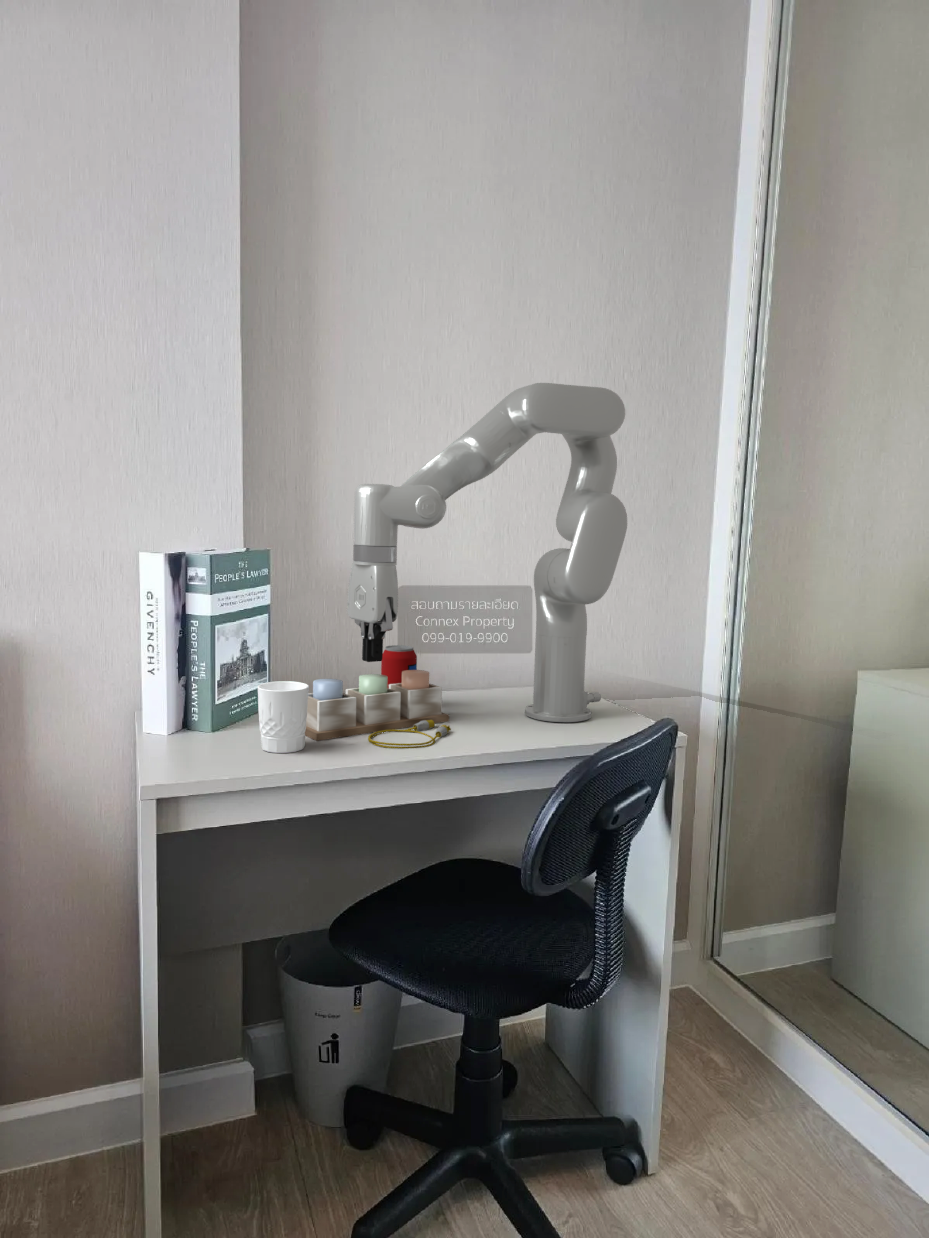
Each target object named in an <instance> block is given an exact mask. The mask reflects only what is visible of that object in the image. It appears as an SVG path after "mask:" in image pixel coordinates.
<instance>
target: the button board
mask: <svg viewBox="0 0 929 1238" xmlns="http://www.w3.org/2000/svg"><path fill="white" fill-rule="evenodd" d="M442 703H443V687H442V686H439V685H435V684H432V683H429V688H424V689H416V690H410V689H406V688H403V687H402V683H397V684H389V688H387V693H382V694H374V695H366V694H363V693H360V692H359V687H352V688H345V693H344V692H343V698H340V699H331V700H323V701H321V700H318V699H315V698H313V692H308V709H307V720H306V731H305V737H307V738H310V739H311V740H314V741H316V742H317V741H318V742H319V741H325V740H326V741H327V740H331V739H339V738H344V737H345V738H346V737H351V736H358V735H363V734H372V733H371V732H373V733H375V732H378V731H383V730H392V729H393V730H401V729H405V728H413V725H414V724H417V723H419V722H420V721H424V720H433V721H434V724H439V723H446V722H449V721H450V714H448V713H446V712H442V708H443V707H442V705H443V704H442Z"/></svg>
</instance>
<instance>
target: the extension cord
mask: <svg viewBox="0 0 929 1238" xmlns="http://www.w3.org/2000/svg"><path fill="white" fill-rule="evenodd" d="M435 724H436V723H434V721H433V720H424V721H420V722H419V723H417V724H414V725H413V727H409V728H407V729H392V730H383V731H378V732H373V733H369V735H368V737H367V740H368V742H369V743H370V744H372V745H373V746H376V747H380V748H385V749H387V748H388V749H421V748H428V747H432V746H433V745H435V743H436V739H437V738H443V737H444V736H446V735H447V734H448V733H449V732H450V731H452V728H451V726H450V725H447V724H442V725H440V726H438V727H437V729H436V731H435V736H434V737H433V736H431V735H429V734H427V733H425V732H423V731H427V730H430V729H433V728H434V727H435ZM382 732H383V734H385V733H384V732H389V733H392V732H395V733H396V732H398V733H399V732H400V733H401V732H403V733H413V732H414V734H419V735H423V736H426V737H428V738H429V739H430V740H429V741H426V742H421V743H420V742H417V743H395V742H385V741H384V742H383V741H382V742H381V741H378V740H373V739H372V738H374V737H377V736H379V735H383V734H382ZM373 736H374V737H373Z"/></svg>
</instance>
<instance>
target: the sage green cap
mask: <svg viewBox="0 0 929 1238" xmlns="http://www.w3.org/2000/svg"><path fill="white" fill-rule="evenodd" d="M387 681H388V677H387V676H385V675H381V673H379V674H378V673H375V674H374V673H370V674H368V673H367V674H366V673H365V674H360V675H359V676H358V688H359V692H360V693H363V694H366V695H374V694H382V693H387Z"/></svg>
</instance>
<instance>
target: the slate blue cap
mask: <svg viewBox="0 0 929 1238" xmlns="http://www.w3.org/2000/svg"><path fill="white" fill-rule="evenodd" d="M343 686H344V681H343V680H341V679H338V678H337V679H336V678H320V679H319V678H317V679H315V680H313V682H312V693H313V698H315V699H318V700H321V701H323V700H331V699H340V698H343V693H344V692H343V691H344V687H343Z"/></svg>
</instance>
